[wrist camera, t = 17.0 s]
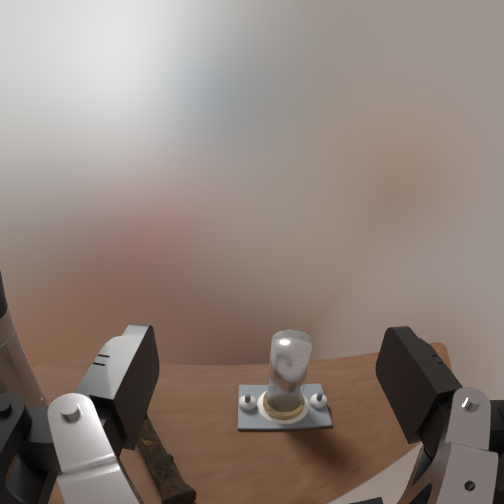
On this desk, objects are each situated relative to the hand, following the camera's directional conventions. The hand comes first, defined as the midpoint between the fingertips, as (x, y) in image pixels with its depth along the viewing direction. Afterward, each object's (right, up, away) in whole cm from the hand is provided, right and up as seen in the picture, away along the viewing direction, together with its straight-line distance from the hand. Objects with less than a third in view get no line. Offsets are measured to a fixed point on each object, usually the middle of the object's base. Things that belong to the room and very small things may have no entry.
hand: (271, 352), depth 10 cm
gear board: (+4, -19, +31) cm, 36 cm away
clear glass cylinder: (+4, -19, +30) cm, 36 cm away
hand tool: (-14, -23, +21) cm, 34 cm away
